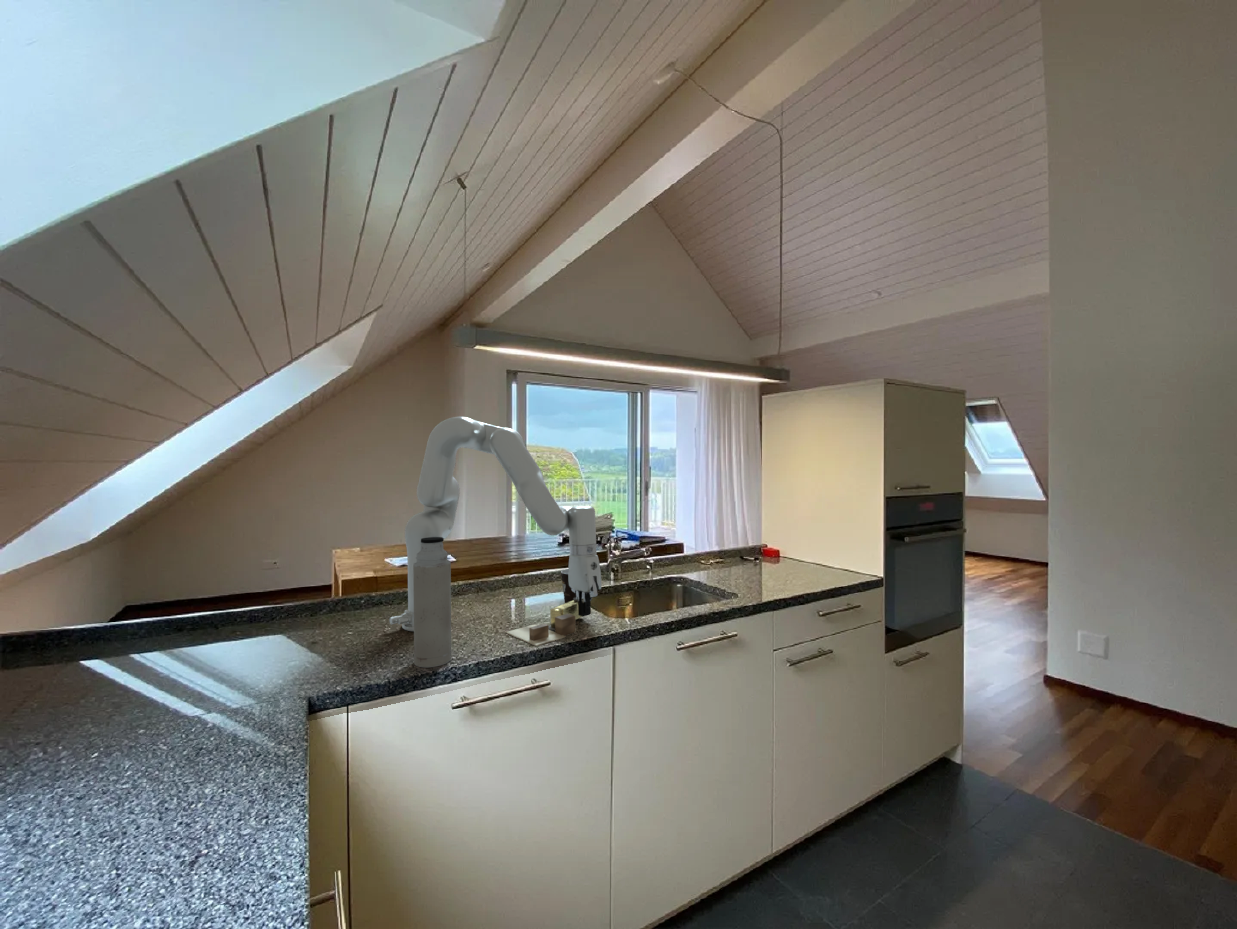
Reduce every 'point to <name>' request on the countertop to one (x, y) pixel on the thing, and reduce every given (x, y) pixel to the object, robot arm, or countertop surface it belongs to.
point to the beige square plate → (524, 635)
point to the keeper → (539, 632)
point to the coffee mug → (567, 587)
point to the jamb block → (565, 624)
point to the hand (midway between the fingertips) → (584, 614)
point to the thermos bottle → (432, 604)
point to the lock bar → (564, 611)
